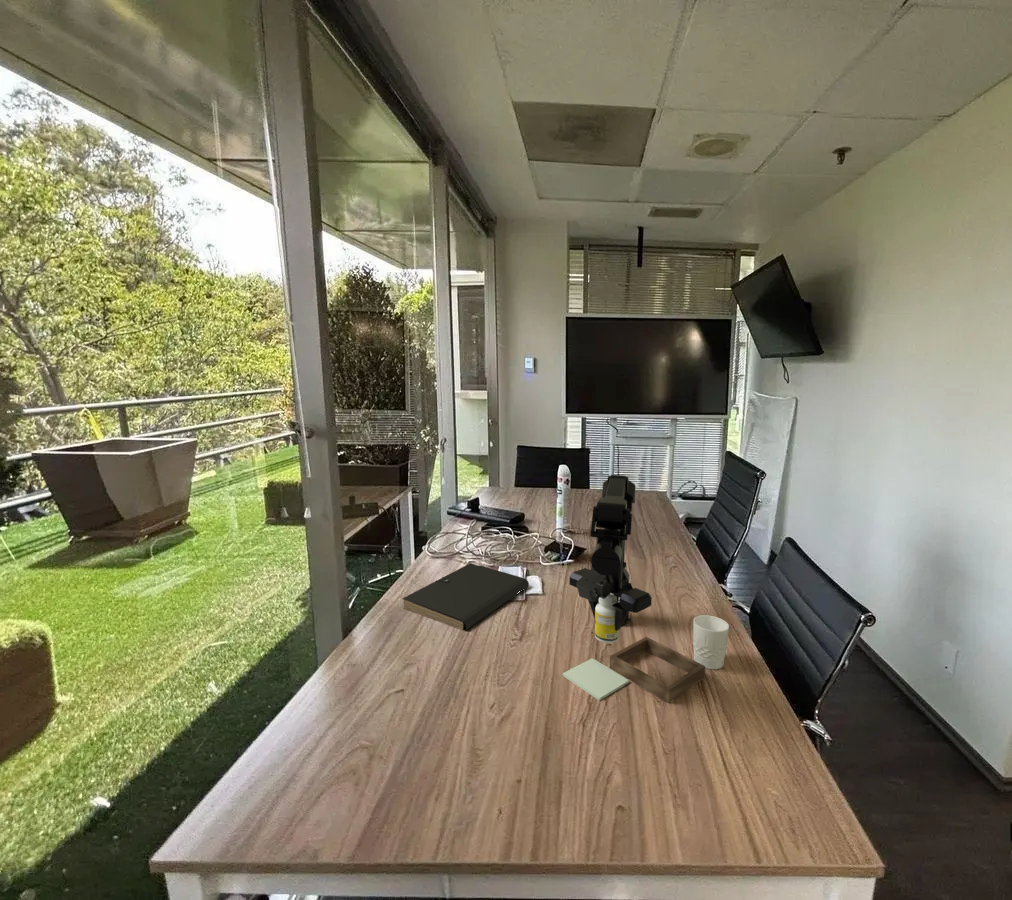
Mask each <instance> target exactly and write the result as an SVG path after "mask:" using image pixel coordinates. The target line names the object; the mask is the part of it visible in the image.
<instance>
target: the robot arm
mask: <svg viewBox="0 0 1012 900" xmlns="http://www.w3.org/2000/svg"><path fill="white" fill-rule="evenodd" d="M636 486H637V485H636V484H635V483H634V482H632V481H630V480H629V476H626V475H623V474H621V475H620V474H619V475H618V474H610V475H608V476H607V480H605V481H604V482H602V490H601V491H602V492H601V496H602V497H599V498H598V500H597V501H596V505H594V506H593V508H592V517H591V518H592V519H591V526H590V533H589V536H590V537H592V538H596V544H595V547H594V549H593V552H592V555H591V558H590V564H591V567H590V568H586V567H585V568H582V569H579V570H575V571H572V573H571V574H570V575H569V581H568V582H569V586H572V587H574V588H576V589H577V591H578V592H577V593H578V596H579V597H580V598H583V599H586V600H588V601H587V602H588V603H589V605H590V609H591V612H592V616H593V618H594V620H595V607H596V605H597V604H598V603H599V598H603V599H605V598H606V597H607V596H608V595H609V594H611V595H614V596H616V597H617V603H615V604H613V605H612V606H613V608H614V609H615V630H616V631H618V630H619V631H620V629H621V628H622V626H623V625H625V624H627V623H629V622H631V620H632V619H631V617H630V615H629V614H630V613H633V614H637V613H639V612H642V611H643V610H645V609H648V608H649V607H651V606H652V595H651V594H650V593H649V592H647V591H644V590H642V589H640V588H637V587H633V583H632V582H630V573H629V572H628V570H627V562H625V554H626V551H625V550H626V541H628V538H629V536H631V535H632V525H633V524H632V521H633V513H632V511H633V504H635V503H636V495H637V494H636V493H637V492H636V489H637V488H636Z"/></svg>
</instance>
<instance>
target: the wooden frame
mask: <svg viewBox="0 0 1012 900" xmlns="http://www.w3.org/2000/svg"><path fill="white" fill-rule="evenodd" d="M646 652H647V653H650V654H651V655H654V656H656V657H657V658H660V659H661V660H663V661H665V662H667V663H669V664H671V665H673V666H675V667H677V668H678V669H681V670H682V671H683V672H686V674H684V675H682V676H681V677H679V678H678V679H676V680H675V681H673V682H672V683H670V684H669V685H667V684H665V683H663V682H662V681H660V680H659V679H657V678H655V677H653V676H652V675H649V674H647V673H646V672H644V671H643V670H641V669H639V668H637V667H636V666H634V665H633V664H630V663H628V662H629V661H631V660H632V659H634V658H636V657H638V656H640V655H641V654H644V653H646ZM608 666H609V667H608V668H609V669H611V670H613V671H614V672H616V673H618V674H619V675H621V676H623V677H624V678H626V679H628V680H629V681H631V682H633V683H634V684H636V685H638V686H639V687H640V688H642V689H644V690H646V691H647V692H649V693H651V694H653V695H654V696H656V697H658V698H659V699H661V700H662V701H664V702H666V703H668V704H670V703H671V702H673V701H674V700H676V698H679V697H680V696H681V695H683V694H684V693H685V692H687V691H688V690H690V689H691V688H692V687H694V686H695V685H698V683H700V682H701V681H702V680H704V679H705V676H706V675H705V674H706V668H705V666H704V665H702V664H700V663H698V662H696V661H694V659H692V658H689V657H688V656H686V655H684V654H681V653H679V652H678V651H676V650H673V649H672V648H669V647H668V646H665V645H663V644H661V643H659V642H657V641H656V640H653V639H652V638H650V637H647V636H645V637H643V638H641V639H639V640H637V641H635V642H633V643H632V644H630V645H628V646H626V647H624V648H622V649H621V650H618V651H617V652H614V653H612V654H610V655H609V665H608Z"/></svg>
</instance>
